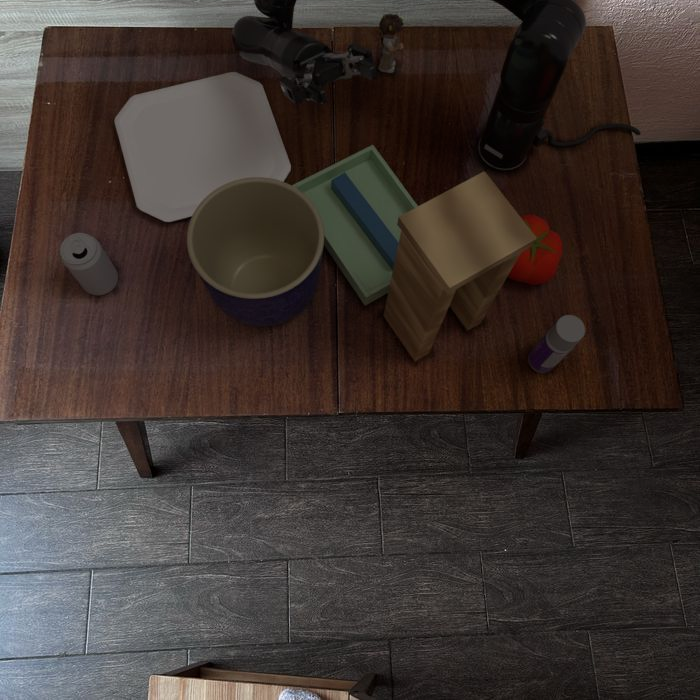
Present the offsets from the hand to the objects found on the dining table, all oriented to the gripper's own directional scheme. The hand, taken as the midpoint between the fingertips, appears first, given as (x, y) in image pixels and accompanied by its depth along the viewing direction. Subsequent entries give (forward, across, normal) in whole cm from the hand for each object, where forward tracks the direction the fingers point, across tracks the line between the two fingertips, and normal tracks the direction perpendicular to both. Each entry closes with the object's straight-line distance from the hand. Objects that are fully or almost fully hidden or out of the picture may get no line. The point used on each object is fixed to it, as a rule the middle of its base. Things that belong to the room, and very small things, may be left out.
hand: (349, 85), depth 102 cm
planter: (-7, -22, +30) cm, 38 cm away
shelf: (+11, 0, +40) cm, 41 cm away
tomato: (+10, +20, +40) cm, 45 cm away
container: (+25, +12, +48) cm, 55 cm away
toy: (-32, +23, +15) cm, 43 cm away
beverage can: (-21, -46, +22) cm, 55 cm away
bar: (-7, 0, +29) cm, 30 cm away
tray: (-7, 0, +29) cm, 30 cm away
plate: (-34, -18, +14) cm, 41 cm away
